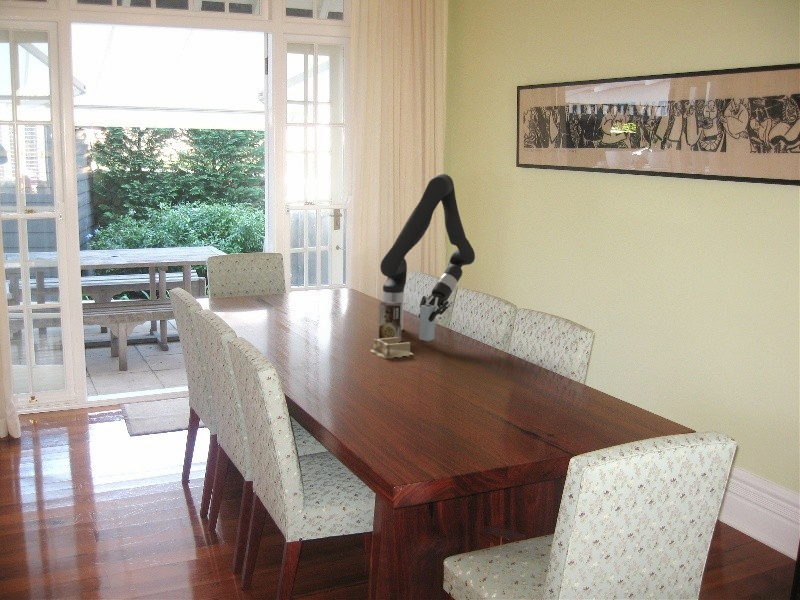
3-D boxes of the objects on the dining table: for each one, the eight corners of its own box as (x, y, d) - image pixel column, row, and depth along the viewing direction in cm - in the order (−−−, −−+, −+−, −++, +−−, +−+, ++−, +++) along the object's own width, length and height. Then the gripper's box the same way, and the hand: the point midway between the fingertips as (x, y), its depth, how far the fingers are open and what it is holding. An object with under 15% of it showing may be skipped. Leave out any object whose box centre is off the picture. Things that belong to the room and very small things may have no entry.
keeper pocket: (370, 351, 352) (370, 339, 351) (398, 348, 358) (399, 336, 357) (383, 359, 342) (384, 345, 341) (413, 355, 348) (413, 342, 347)
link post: (418, 338, 364) (420, 304, 361) (425, 337, 368) (427, 302, 364) (427, 341, 361) (429, 306, 358) (434, 339, 365) (435, 304, 362)
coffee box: (401, 339, 374) (402, 302, 371) (399, 343, 368) (401, 305, 364) (380, 338, 375) (381, 301, 372) (378, 342, 368) (379, 304, 365)
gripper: (427, 278, 370) (407, 310, 363) (454, 284, 361) (434, 317, 354) (435, 289, 375) (415, 321, 368) (462, 295, 366) (442, 328, 359)
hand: (425, 319), depth 361 cm, fingers closed on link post, 4 cm apart
